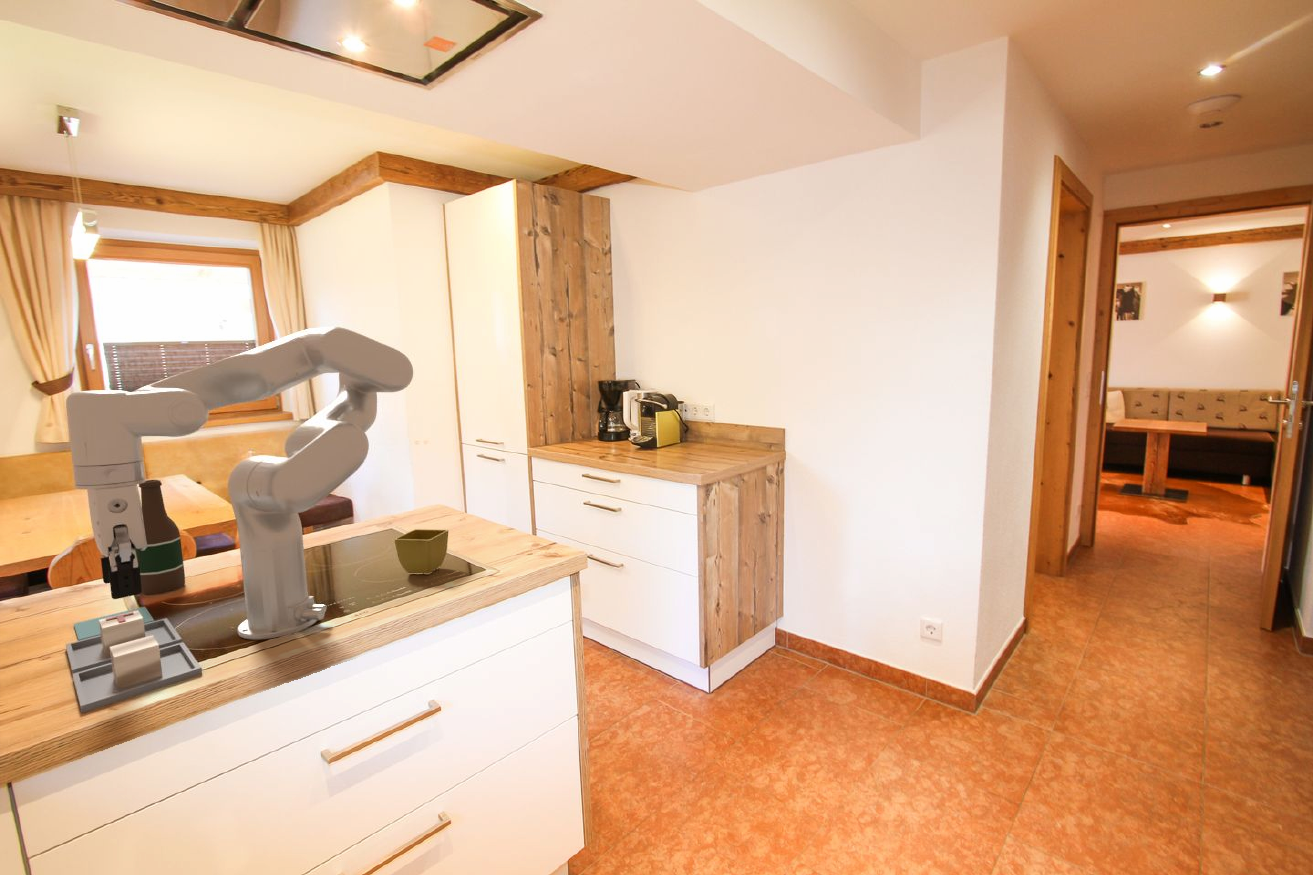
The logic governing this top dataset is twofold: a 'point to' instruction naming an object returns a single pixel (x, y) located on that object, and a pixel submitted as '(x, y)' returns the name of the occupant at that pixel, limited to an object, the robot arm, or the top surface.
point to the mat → (93, 627)
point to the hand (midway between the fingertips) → (122, 588)
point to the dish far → (93, 655)
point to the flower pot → (422, 550)
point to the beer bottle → (159, 545)
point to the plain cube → (135, 661)
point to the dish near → (102, 689)
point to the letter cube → (121, 630)
